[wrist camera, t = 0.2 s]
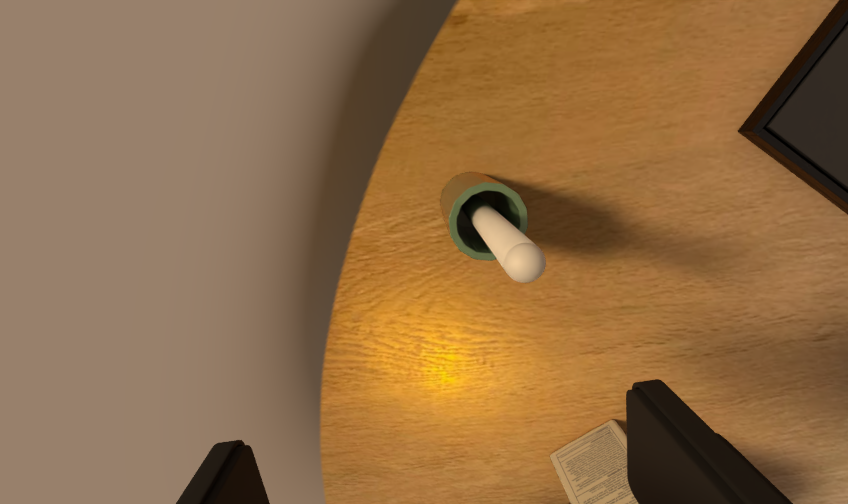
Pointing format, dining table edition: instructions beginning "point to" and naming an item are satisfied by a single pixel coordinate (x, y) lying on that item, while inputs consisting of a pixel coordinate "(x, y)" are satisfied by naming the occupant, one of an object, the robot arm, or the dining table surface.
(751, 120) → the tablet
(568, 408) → the dining table surface
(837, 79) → the screen
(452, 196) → the pen pot
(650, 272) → the dining table surface
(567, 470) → the cosmetic box
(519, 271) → the stylus
